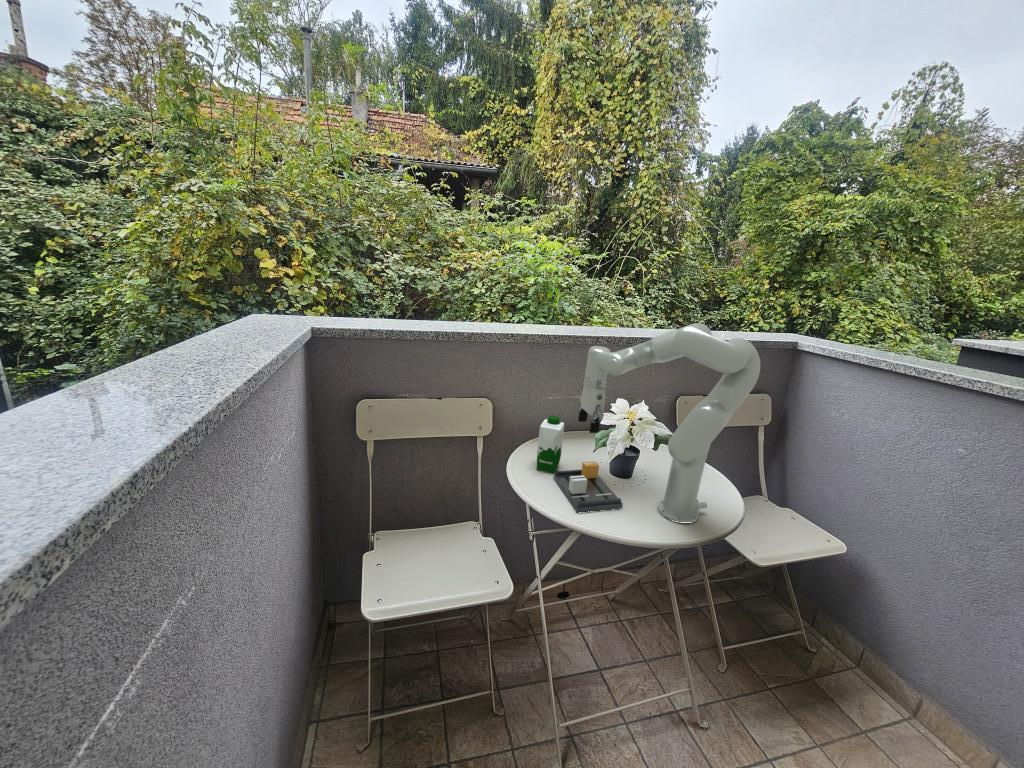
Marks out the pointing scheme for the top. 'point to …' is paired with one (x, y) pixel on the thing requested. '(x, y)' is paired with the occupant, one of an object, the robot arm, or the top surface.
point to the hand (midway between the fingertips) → (587, 426)
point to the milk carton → (550, 444)
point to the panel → (588, 493)
